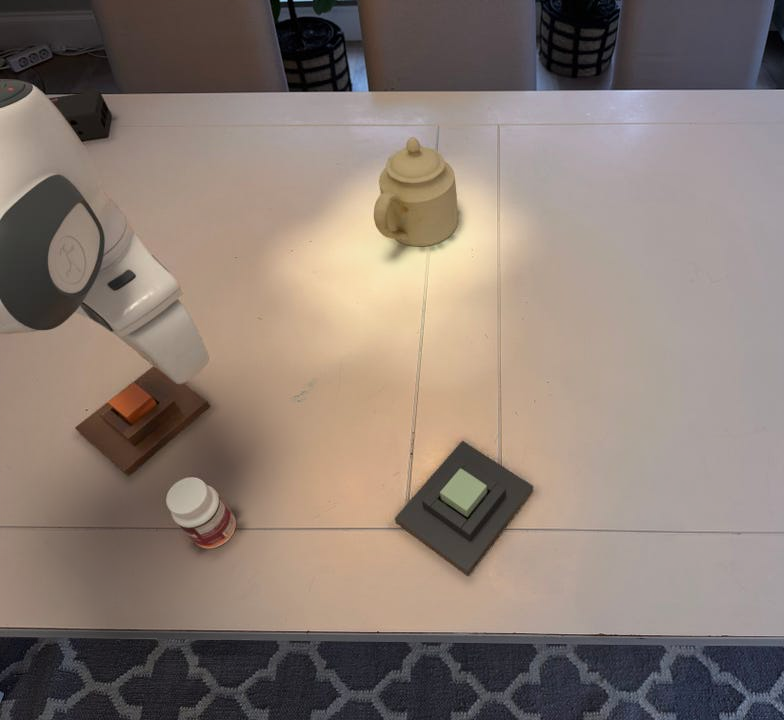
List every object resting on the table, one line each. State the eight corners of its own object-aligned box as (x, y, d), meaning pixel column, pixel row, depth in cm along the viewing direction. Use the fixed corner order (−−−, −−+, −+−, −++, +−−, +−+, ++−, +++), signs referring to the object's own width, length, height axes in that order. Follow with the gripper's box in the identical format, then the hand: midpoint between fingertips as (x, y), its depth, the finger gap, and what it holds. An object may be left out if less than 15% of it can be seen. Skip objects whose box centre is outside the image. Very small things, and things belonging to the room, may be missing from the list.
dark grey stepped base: (468, 576, 70) (467, 565, 67) (395, 522, 74) (392, 511, 71) (533, 490, 75) (534, 478, 73) (462, 445, 79) (461, 432, 77)
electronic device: (108, 138, 120) (94, 112, 116) (45, 147, 118) (29, 122, 114) (112, 115, 124) (99, 89, 120) (51, 124, 123) (36, 99, 119)
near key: (467, 518, 71) (466, 510, 69) (440, 499, 72) (439, 492, 71) (487, 492, 73) (487, 485, 71) (461, 475, 74) (460, 467, 73)
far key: (132, 425, 79) (126, 417, 78) (114, 410, 81) (107, 402, 79) (157, 404, 81) (151, 396, 80) (139, 390, 82) (133, 382, 81)
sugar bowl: (456, 265, 98) (449, 180, 86) (380, 266, 98) (363, 182, 86) (459, 198, 107) (453, 113, 95) (390, 199, 107) (375, 115, 95)
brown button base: (128, 476, 78) (116, 463, 76) (79, 432, 82) (66, 419, 80) (210, 406, 84) (201, 392, 81) (160, 368, 88) (151, 354, 85)
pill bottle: (185, 527, 74) (153, 493, 67) (223, 500, 76) (196, 464, 69) (205, 558, 72) (174, 526, 65) (244, 530, 74) (218, 496, 67)
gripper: (-6, 232, 61) (72, 330, 72) (125, 336, 53) (191, 428, 64) (57, 195, 64) (123, 295, 75) (190, 289, 56) (242, 385, 67)
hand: (155, 357), depth 69 cm, fingers closed
